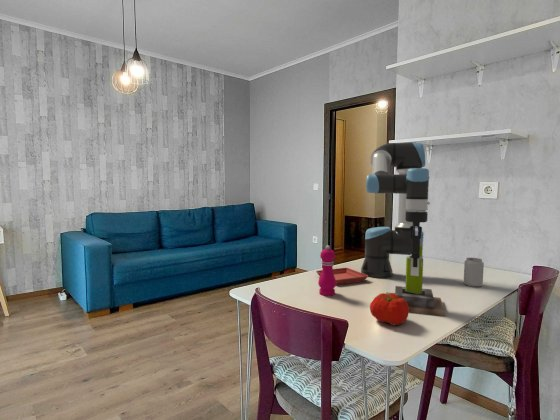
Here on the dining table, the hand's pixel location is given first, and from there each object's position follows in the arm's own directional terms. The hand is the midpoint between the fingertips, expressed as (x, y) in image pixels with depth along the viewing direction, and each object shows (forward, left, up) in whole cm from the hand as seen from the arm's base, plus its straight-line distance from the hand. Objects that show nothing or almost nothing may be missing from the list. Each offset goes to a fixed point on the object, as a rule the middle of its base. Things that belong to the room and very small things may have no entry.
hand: (414, 273), depth 132 cm
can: (+26, +37, -12) cm, 47 cm away
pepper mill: (-33, +3, -12) cm, 35 cm away
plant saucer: (-31, +27, -13) cm, 43 cm away
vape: (0, 0, -7) cm, 7 cm away
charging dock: (0, 0, -12) cm, 12 cm away
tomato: (-8, -19, -12) cm, 24 cm away
